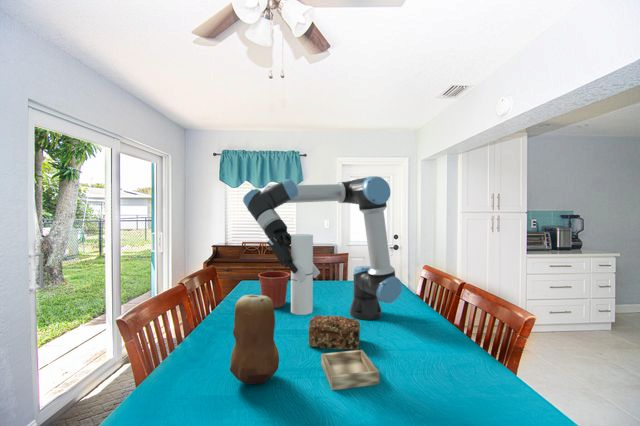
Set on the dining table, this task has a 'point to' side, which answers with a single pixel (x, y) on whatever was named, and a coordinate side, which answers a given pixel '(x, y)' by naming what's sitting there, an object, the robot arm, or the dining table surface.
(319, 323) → the bread
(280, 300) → the flower pot
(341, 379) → the holder tray
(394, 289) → the robot arm
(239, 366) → the butternut squash
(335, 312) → the dining table surface
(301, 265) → the cylindrical container
